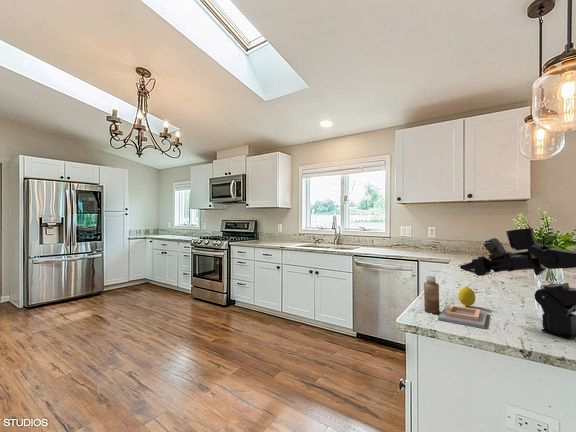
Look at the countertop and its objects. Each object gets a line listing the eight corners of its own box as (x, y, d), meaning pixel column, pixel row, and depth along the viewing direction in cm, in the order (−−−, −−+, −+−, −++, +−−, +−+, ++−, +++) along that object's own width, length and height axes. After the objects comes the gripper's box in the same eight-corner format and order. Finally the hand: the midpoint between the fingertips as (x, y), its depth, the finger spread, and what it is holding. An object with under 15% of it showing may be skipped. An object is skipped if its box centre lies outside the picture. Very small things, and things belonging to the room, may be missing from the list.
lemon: (475, 310, 104) (475, 288, 104) (458, 308, 107) (457, 287, 107) (475, 306, 109) (474, 285, 109) (458, 304, 112) (458, 284, 112)
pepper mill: (442, 312, 102) (441, 277, 102) (432, 314, 100) (431, 279, 101) (431, 308, 107) (430, 275, 107) (421, 310, 105) (420, 276, 105)
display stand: (487, 314, 100) (487, 307, 100) (484, 328, 87) (484, 321, 87) (446, 307, 108) (446, 301, 108) (438, 320, 95) (438, 313, 95)
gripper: (520, 235, 98) (474, 243, 111) (494, 239, 88) (447, 246, 101) (530, 267, 95) (482, 271, 108) (505, 274, 86) (455, 277, 99)
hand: (467, 265), depth 104 cm, fingers open, 9 cm apart
